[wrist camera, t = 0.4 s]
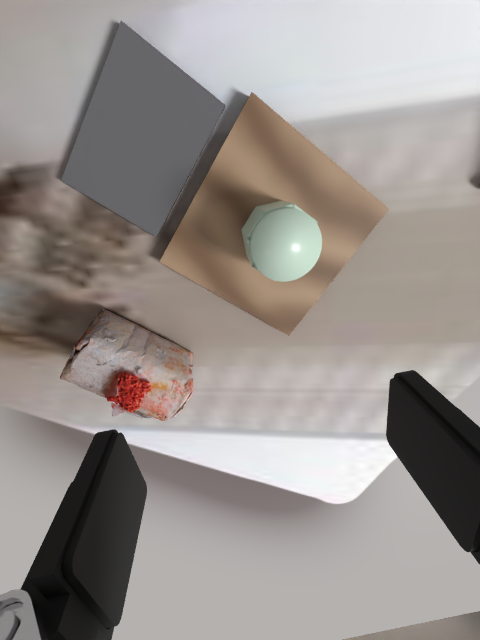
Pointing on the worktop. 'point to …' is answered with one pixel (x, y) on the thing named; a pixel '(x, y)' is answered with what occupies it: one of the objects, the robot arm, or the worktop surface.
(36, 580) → the robot arm
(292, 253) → the cap
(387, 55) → the worktop surface
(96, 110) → the mat
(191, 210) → the post stand
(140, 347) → the food item
